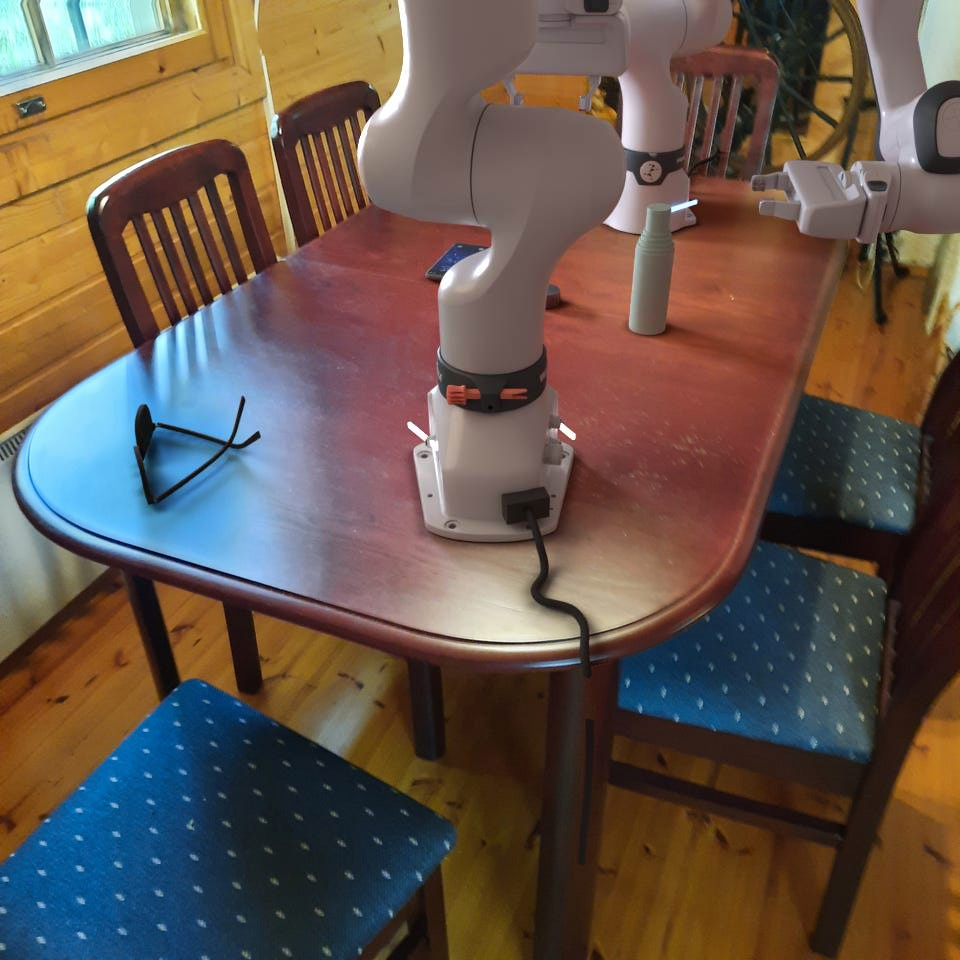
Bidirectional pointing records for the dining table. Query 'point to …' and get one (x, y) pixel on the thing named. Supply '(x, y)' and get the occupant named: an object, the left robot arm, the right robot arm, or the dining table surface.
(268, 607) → the dining table surface
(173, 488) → the sunglasses
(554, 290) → the cap
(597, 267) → the dining table surface
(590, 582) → the dining table surface
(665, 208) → the bottle
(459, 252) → the smartphone
